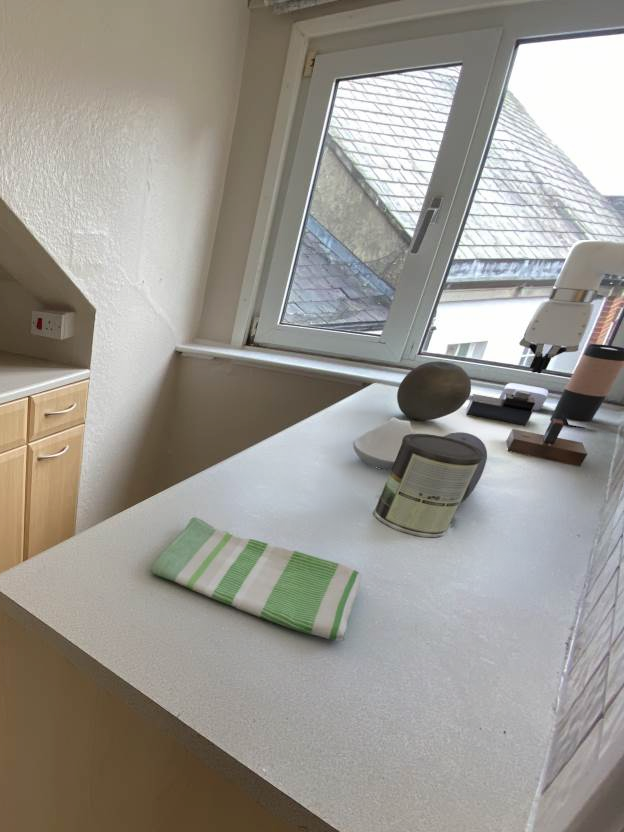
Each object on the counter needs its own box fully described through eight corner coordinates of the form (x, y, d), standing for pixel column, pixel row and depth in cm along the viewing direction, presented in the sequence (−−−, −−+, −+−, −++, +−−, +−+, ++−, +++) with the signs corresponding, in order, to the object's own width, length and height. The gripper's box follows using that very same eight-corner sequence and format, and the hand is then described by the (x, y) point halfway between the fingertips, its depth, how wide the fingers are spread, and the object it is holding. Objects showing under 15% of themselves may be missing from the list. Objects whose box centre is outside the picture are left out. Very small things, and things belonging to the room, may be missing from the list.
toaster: (523, 418, 146) (534, 396, 144) (525, 426, 140) (536, 404, 137) (466, 407, 153) (476, 386, 150) (466, 415, 147) (475, 393, 144)
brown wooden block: (575, 454, 124) (582, 441, 122) (580, 466, 117) (588, 453, 116) (506, 440, 130) (512, 428, 129) (507, 451, 124) (514, 438, 123)
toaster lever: (526, 399, 142) (530, 391, 142) (526, 401, 140) (530, 394, 140) (512, 396, 144) (515, 389, 143) (512, 399, 142) (516, 391, 141)
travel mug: (543, 416, 148) (582, 342, 139) (580, 421, 145) (622, 346, 136) (555, 425, 142) (596, 348, 133) (594, 430, 139) (639, 352, 130)
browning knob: (542, 436, 124) (553, 417, 122) (552, 438, 124) (563, 419, 121) (543, 442, 121) (554, 422, 119) (553, 444, 120) (564, 424, 118)
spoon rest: (411, 483, 107) (426, 449, 103) (343, 465, 113) (354, 433, 110) (421, 449, 123) (434, 419, 120) (361, 435, 130) (372, 406, 126)
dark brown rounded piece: (385, 419, 141) (407, 362, 134) (392, 407, 151) (413, 353, 144) (453, 434, 133) (480, 373, 126) (456, 420, 142) (481, 363, 136)
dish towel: (191, 525, 89) (195, 511, 87) (358, 584, 76) (365, 567, 75) (147, 576, 76) (151, 559, 75) (339, 655, 63) (347, 637, 62)
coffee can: (358, 508, 96) (388, 433, 90) (408, 505, 98) (440, 432, 92) (408, 540, 87) (445, 459, 81) (462, 536, 89) (502, 457, 83)
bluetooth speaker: (419, 469, 113) (439, 423, 108) (476, 484, 107) (499, 437, 103) (393, 503, 98) (415, 453, 94) (458, 524, 93) (484, 470, 88)
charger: (543, 401, 162) (539, 411, 152) (502, 393, 167) (496, 403, 158) (551, 385, 160) (548, 395, 150) (509, 378, 165) (504, 387, 156)
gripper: (613, 298, 129) (574, 374, 137) (528, 292, 138) (497, 364, 146) (618, 301, 124) (578, 380, 132) (530, 294, 132) (497, 369, 140)
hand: (535, 371), depth 139 cm, fingers closed
